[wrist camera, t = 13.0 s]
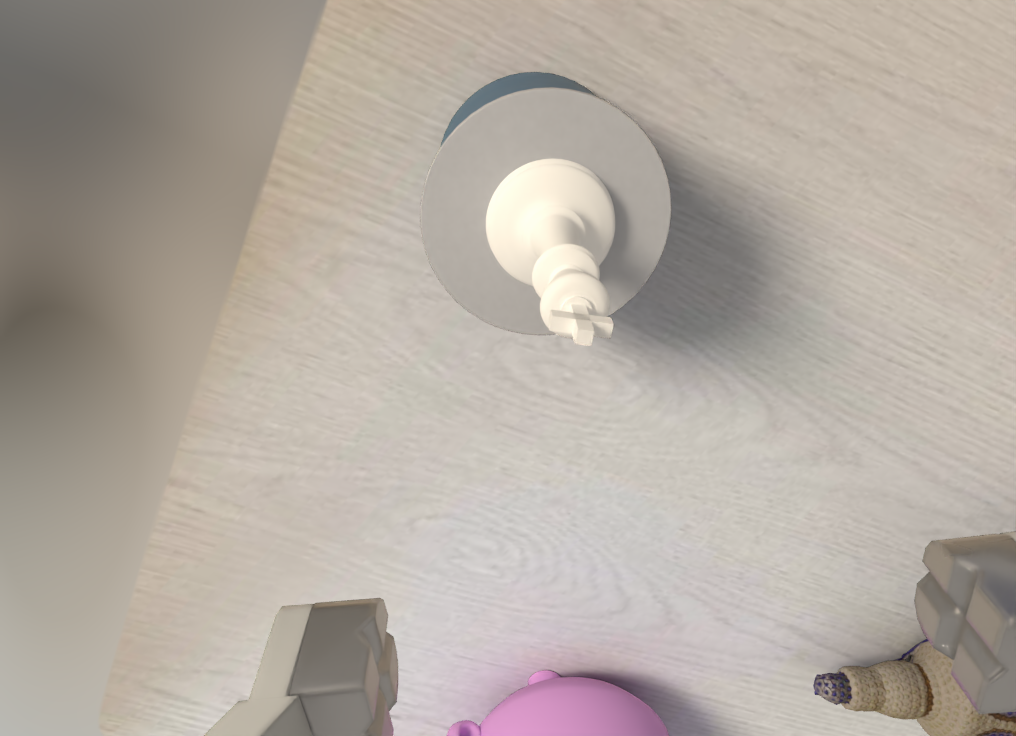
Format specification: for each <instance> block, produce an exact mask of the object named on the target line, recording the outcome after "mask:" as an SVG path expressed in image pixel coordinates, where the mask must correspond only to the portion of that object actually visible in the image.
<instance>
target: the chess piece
mask: <svg viewBox="0 0 1016 736" xmlns="http://www.w3.org/2000/svg"><path fill="white" fill-rule="evenodd" d="M614 233H615V212H614V206H613V202H612V199H611V197H610V194H609V192H608V190H607V188H606V187H605V185H604V184H603V183H602V181H601V180H600V179H599V178H598V177H597V176H596V175H595V174H594V173H593V172H592V171H590V170H589V169H587V168H586V167H584V166H582V165H580V164H578V163H575V162H572V161H569V160H564V159H554V158H551V159H541V160H537V161H533V162H530V163H527V164H525V165H523V166H521V167H519V168H518V169H516V170H514V171H513V172H512V173H510V174H509V175H508V176H507V177H506V178H505V179H504V180H503V181H502V182H501V183H500V185H499V186H498V187H497V189H496V190H495V192H494V194H493V196H492V198H491V200H490V203H489V206H488V209H487V214H486V234H487V239H488V242H489V245H490V248H491V250H492V252H493V254H494V256H495V258H496V259H497V261H498V262H499V264H500V265H501V266H502V267H503V269H504V270H505V271H506V272H507V273H509V274H510V275H511V276H512V277H514V278H515V279H517V280H519V281H521V282H523V283H525V284H527V285H530V286H534V289H535V291H536V293H537V294H538V296H539V297H540V298H541V301H540V313H541V317H542V319H543V321H544V323H545V325H546V326H547V327H548V328H549V331H552V332H554V333H555V334H557V335H559V336H562V337H565V338H573V339H574V343H575V344H579V345H587V346H591V344H592V340H593V336H594V337H601V338H609V339H610V337H611V334H612V330H613V326H614V323H613V321H612V318H610V317H607V316H608V313H609V309H610V299H609V295H608V292H607V290H606V288H605V286H604V285H603V284H602V283H601V282H600V281H599V278H600V270H599V265H600V264H601V263H602V261H603V260H604V259H605V257H606V255H607V254H608V252H609V250H610V247H611V245H612V242H613V238H614Z"/></svg>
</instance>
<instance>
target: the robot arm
mask: <svg viewBox="0 0 1016 736" xmlns="http://www.w3.org/2000/svg"><path fill="white" fill-rule="evenodd" d="M922 562H923V563H924V564H925V566H926V567H927V568H928V570H929V571H930V572H929V573H928V574H927V575H926V576H925V577H924V578H923V579H921V580H920V581H919V582H918V583H917V588H916V594H915V599H914V602H915V608H916V613H917V619H918V621H919V624H920V626H921V628H922V631H923V633H924V635H925V636H926V638H927V639H928V641H929V642H930V644H931V645H932V647H933V648H934V649H936V650H937V651H939V652H941V653H942V654H944V655H946V656H947V657H949V658H951V659H952V660H953V663H952V670H951V675H952V676H953V678H954V679H955V680H956V682H957V683H958V685H959V686H960V688H961V689H962V691H963V692H964V693H965V695H966V696H967V698H968V699H969V701H970V702H971V704H972V705H973V706H974V708H975V709H976V711H977V712H978V714H990V713H1004V712H1016V531H1014V532H1006V533H1000V534H988V535H980V536H971V537H962V538H953V539H944V540H935V541H931V542H930V543H929V545H928V546H927V547H926V548H925V552H924V556H923V560H922ZM387 621H388V613H387V610H386V606H385V603H384V600H383V599H381V598H373V599H360V600H347V601H334V602H321V603H315V604H305V605H291V606H282V608H281V609H280V610H279V611H278V613H277V614H276V616H275V619H274V622H273V625H272V628H271V632H270V635H269V638H268V641H267V644H266V647H265V650H264V653H263V657H262V660H261V663H260V666H259V669H258V672H257V675H256V679H255V682H254V685H253V688H252V691H251V694H250V697H249V700H244V701H238V702H237V703H236V704H235V705H234V706H233V707H232V708H231V709H230V710H229V711H228V712H227V713H226V714H225V715H224V716H223V717H222V718H221V719H220V720H219V721H218V722H217V723H216V724H215V725H214V726H213V727H212V728H211V729H210V730H209V731H208V732H207V733H206V734H205V735H204V736H393V726H392V722H391V718H390V714H389V711H390V709H391V708H392V707H393V706H394V705H395V703H396V702H397V692H398V659H397V651H396V646H395V642H394V637H393V636H391V635H390V634H389V633H387V632H386V629H387Z"/></svg>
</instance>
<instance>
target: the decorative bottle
mask: <svg viewBox="0 0 1016 736" xmlns="http://www.w3.org/2000/svg"><path fill="white" fill-rule="evenodd" d="M910 655H912V657H911V659H910V662H907V661H905V659H907V658H908V657H909V656H910ZM900 660H902V661H900ZM952 663H953V660H952V659H951V658H949V657H947V656H946V655H944V654H942V653H941V652H939V651H937V650H936V649H934V648H933V647H932V645H931V644H930V642H929V641H928V639H926V640H924V641H922V642H920V643H919V644H917V645H916V646H914V647H913V648H912V649H910V650H909V651H908V652H907V653H905V654H903V655H902V657H901V658H900V659H897V660H893V661H885V662H881V663H879V664H876V665H872V666H870V667H866V668H865V667H860V666H844V667H842V668H840V669H839V670H838V672H837V674H833V673H827V674H822V675H817V676H816V678H815V681H814V685H813V686H814V689H815V695H820V696H821V697H823V698H824V699H826V700H828V701H830V702H832V703H834V704H836V705H837V704H840V703H841V704H842V705H843V706H844V707H845V708H846V709H849V710H854V711H876V712H879V713H882V714H884V715H887V716H890V717H893V718H899V719H917V721H918V722H919V723H920V725H921V726H922V728H923V729H924V730H925V731H926V733H927V734H929V735H930V736H1016V712H1004V713H990V714H978V712H977V711H976V709H975V708H974V706H973V705H972V704H971V702H970V701H969V699H968V698H967V696H966V695H965V693H964V692H963V691H962V689H961V688H960V686H959V685H958V683H957V682H956V680H955V679H954V678H953V676H952V675H951V670H952Z"/></svg>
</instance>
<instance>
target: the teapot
mask: <svg viewBox="0 0 1016 736" xmlns="http://www.w3.org/2000/svg"><path fill="white" fill-rule="evenodd" d="M447 736H669V734H668V731H667V729H666V727H665V725H664V724H663V722H662V720H661V719H660V718H659V716H658V715H657V714H656V713H655V712H654V710H653V709H652V708H650V707H649V706H648V705H647V704H646V703H644V702H643V701H642V700H640V699H639V698H637V697H635V696H634V695H632V694H631V693H630V692H628V691H625V690H623V689H621V688H620V687H617V686H615V685H613V684H611V683H607V682H604V681H601V680H596V679H592V678H583V677H562V678H561V677H560V676H559V675H558V674H557V673H555V672H553V671H548V670H544V671H539V672H536V673H534V674H533V675H532V676H531V677H530V678H529V680H528V686H526V687H524V688H522V689H519V690H518V691H516V692H514V693H513V694H511V695H510V696H508V697H507V698H506V699H505V700H503V701H502V702H501V703H500V704H499V705H498V706H497V707H496V708H495V709H494V710H493V711H492V712H491V713H490V714H489V715H488V716H487V717H486V718H485V719H484V720H483V722H482V723H481V724H480V726H478V725H477V724H476V723H474V722H472V721H468V720H465V721H459V722H457V723H455V724H453V725H452V726H451V727H450V728H449V731H448V734H447Z"/></svg>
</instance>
